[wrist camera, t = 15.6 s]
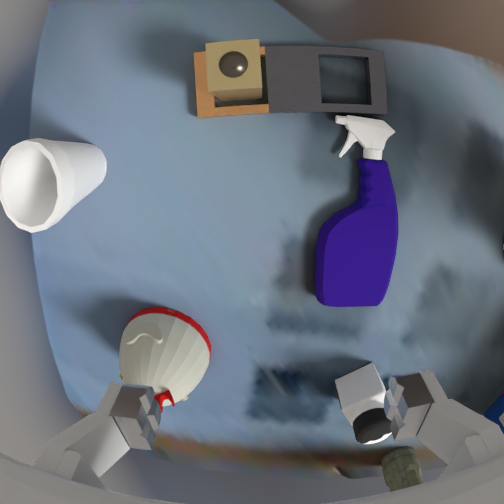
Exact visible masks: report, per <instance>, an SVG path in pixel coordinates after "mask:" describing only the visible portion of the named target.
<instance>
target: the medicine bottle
mask: <svg viewBox="0 0 504 504" xmlns="http://www.w3.org/2000/svg"><path fill="white" fill-rule="evenodd" d="M335 385H336V390H337V394H338V398H339V402H340V406H341V410H342V412H343V413H344V415H345V416H346V418H347V419H348V421H349V422H350V423H351V425H352V426H353V429H354V433H355V437H356V440H357V441H358V442H360V443H362V444H373V443H377V442H380V441H382V440H384V439H385V438H387V437H388V436H389V435H390V434H391V433H392V432H391V429H390V425H391V422H392V421H391V420H389V419H388V418H387V417H386V414H385V411H384V397H385V393H386V389H385V387H384V384H383V382H382V380H381V378H380V376H379V374H378V372H377V370H376V367H375V365H374V364H373V363H370V364H368V365H366V366H364V367H362V368H359V369H357V370H355V371H353V372H351V373H349V374H347V375H345V376H342V377H340V378H338V379H336V380H335Z"/></svg>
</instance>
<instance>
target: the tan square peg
mask: <svg viewBox="0 0 504 504" xmlns="http://www.w3.org/2000/svg"><path fill="white" fill-rule="evenodd" d="M205 45H206V64H207V81H208V92H209V93H211V94H212V95H214V96H215V97H217V98H218V99H220V100H221V101H236V100H251V99H262V75H261V60H260V46H259V39H247V40H233V41H222V42H213V43H205Z"/></svg>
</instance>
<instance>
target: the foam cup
mask: <svg viewBox="0 0 504 504" xmlns="http://www.w3.org/2000/svg"><path fill="white" fill-rule="evenodd" d="M105 174H106V159H105V157H104V155H103V152H102V151H101V150H100V149H99V148H98V147H96V146H95V145H92V144H87V143H78V142H65V141H52V140H47V139H42V138H35V139H29V140H24V141H22V142H20V143H18V144H16V145H14V146H12V147H11V148H10V150H9V151H8V152H7V154H6V155H5V157H4V158H3V160H2V162H1V166H0V201H1V203H2V205H3V208H4V210H5V212H6V215H7V216H8V217H9V218H10V219H11V220H12V221H13V223H15V225H16V226H17V227H18V228H21V229H23V230H26V231H29V232H31V233H33V232H37V231H41V230H45V229H47V228H49V227H51V226H52V225H54V224H56V223H58V222H59V221H60V219H61V218H62V217H63V216H64V215H65V214H66V213H67V212H68V211H69V210H70V209H71V208H72V207H73V206H75V205H76V204H77V203H78V202H79V201H81V200H82V199H83V198H84V197H85V196H87V195H88V194H89V193H90V192H92V191H93V190H94V189H95V188H96V187H97V186H98V185H99V184H101V183H102V182H103V179H104V177H105Z"/></svg>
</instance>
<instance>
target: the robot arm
mask: <svg viewBox="0 0 504 504" xmlns="http://www.w3.org/2000/svg"><path fill="white" fill-rule="evenodd" d="M503 248H504V246H503ZM388 385H389V388H390V389H389V390H388V391H387V392H386V393H385V397H384V411H385V414H386V417H387V418H388V419H389V420H391V421H392V422H391V425H390V429H391V432H392V435H393V438H394V440H395V441H396V440H401V439H406V438H411V437H416V436H417V437H416V438H417V439H418V440H419V441H421V442H422V443H423V444H424V445H425V446H426V447H428V448H429V449H430V450H431V451H432V452H434V453H435V454H436V455H437V456H438V457H439V458H441V459H442V460H443V461H444V462H445V463H447V464H448V465H447V467H446V468H445V470H444V471H443V472H442V474H441V475H440V477H439V479H435V480H433V481H429V482H426V483H422V484H419V485H415V486H412V487H408V488H404V489H400V490H396V491H392V492H388V493H383V494H378V495H373V496H368V497H363V498H357V499H351V500H345V501H339V502H330V503H323V504H504V434H503V432H502V431H501V429H500V427H499V425H498V424H496V423H494V422H492V421H490V420H489V419H487V418H485V417H483V416H481V415H480V414H478V413H476V412H474V411H473V410H471V409H469V408H467V407H465V406H464V405H462V404H460V403H458V402H457V401H455V400H453V399H448V398H447V396H446V394H445V392H444V391H443V389H442V387H441V385H440V384H439V382H438V380H437V378H436V377H435V375H434V373H433V372H432V370H430V369H428V370H423V371H418V372H412V373H407V374H402V375H396V376H392V377H391V378H390V380H389V383H388ZM154 396H155V392H154V389H153V387H151V386H143V385H134V384H126V383H125V384H124V383H116V382H112V383H111V384H110V385H109V387H108V389H107V391H106V393H105V395H104V397H103V399H102V401H101V403H100V405H99V407H98V409H97V411H96V413H91V414H90V415H88V416H86V417H85V418H83V419H82V420H80V421H79V422H77V423H76V424H74V425H73V426H71V427H69V428H68V429H66V430H65V431H63V432H62V433H60V434H58V435H57V436H55V437H54V438H52V439H50V440H49V441H47V442H46V444H45V445H44V447H43V449H42V451H41V453H40V455H39V457H38V459H37V461H36V463H35V465H34V467H33V466H30V465H28V464H25V463H23V462H20V461H18V460H16V459H14V458H11V457H9V456H7V455H5V454H3V453H0V504H181V503H174V502H167V501H160V500H154V499H147V498H141V497H136V496H131V495H127V494H122V493H117V492H113V491H109V490H108V489H107V487H106V485H105V484H104V483H103V482H102V481H101V480H100V478H99V477H100V476H101V475H102V474H103V473H104V472H105V471H107V469H109V468H110V467H111V466H112V465H113V464H114V463H115V462H116V461H117V460H118V459H120V458H121V457H122V456H123V455H124V454H125V453H126V452H127V451H128V450H129V449H130V448H129V447H131V448H138V449H146V450H152V448H153V444H154V441H155V437H156V435H155V433H154V430H155V429H156V428H157V427H159V424H160V419H161V410H160V405H159V403H158V401H156V400H155V399H154ZM182 504H183V503H182Z"/></svg>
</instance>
